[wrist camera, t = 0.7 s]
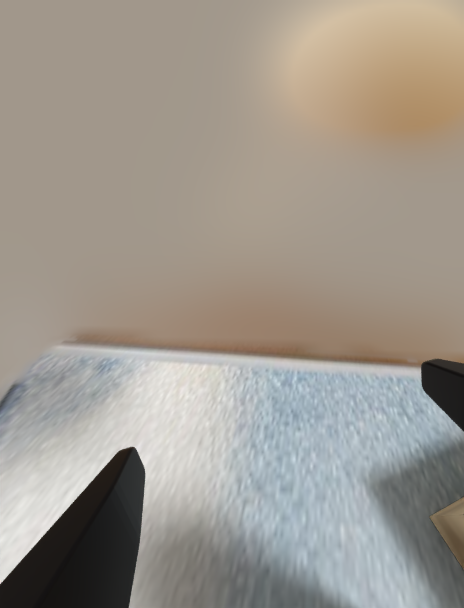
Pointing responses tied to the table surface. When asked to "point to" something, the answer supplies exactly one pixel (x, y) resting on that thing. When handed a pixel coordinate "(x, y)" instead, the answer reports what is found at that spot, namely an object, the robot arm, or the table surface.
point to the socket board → (452, 527)
